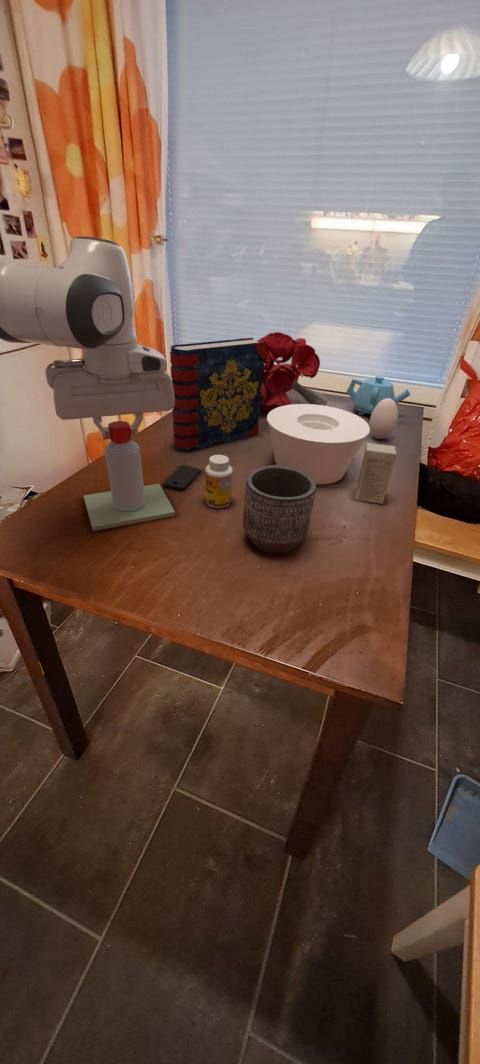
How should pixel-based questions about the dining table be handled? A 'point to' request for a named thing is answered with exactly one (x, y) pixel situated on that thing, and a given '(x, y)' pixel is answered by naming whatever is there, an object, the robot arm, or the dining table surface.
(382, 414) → the egg
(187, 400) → the book
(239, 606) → the dining table surface
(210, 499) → the supplement bottle
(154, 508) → the mat
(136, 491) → the bottle
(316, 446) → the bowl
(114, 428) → the cap
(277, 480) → the planter
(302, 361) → the bouquet
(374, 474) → the cosmetic box
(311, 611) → the dining table surface
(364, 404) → the teapot
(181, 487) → the black tag with hole
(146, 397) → the robot arm
